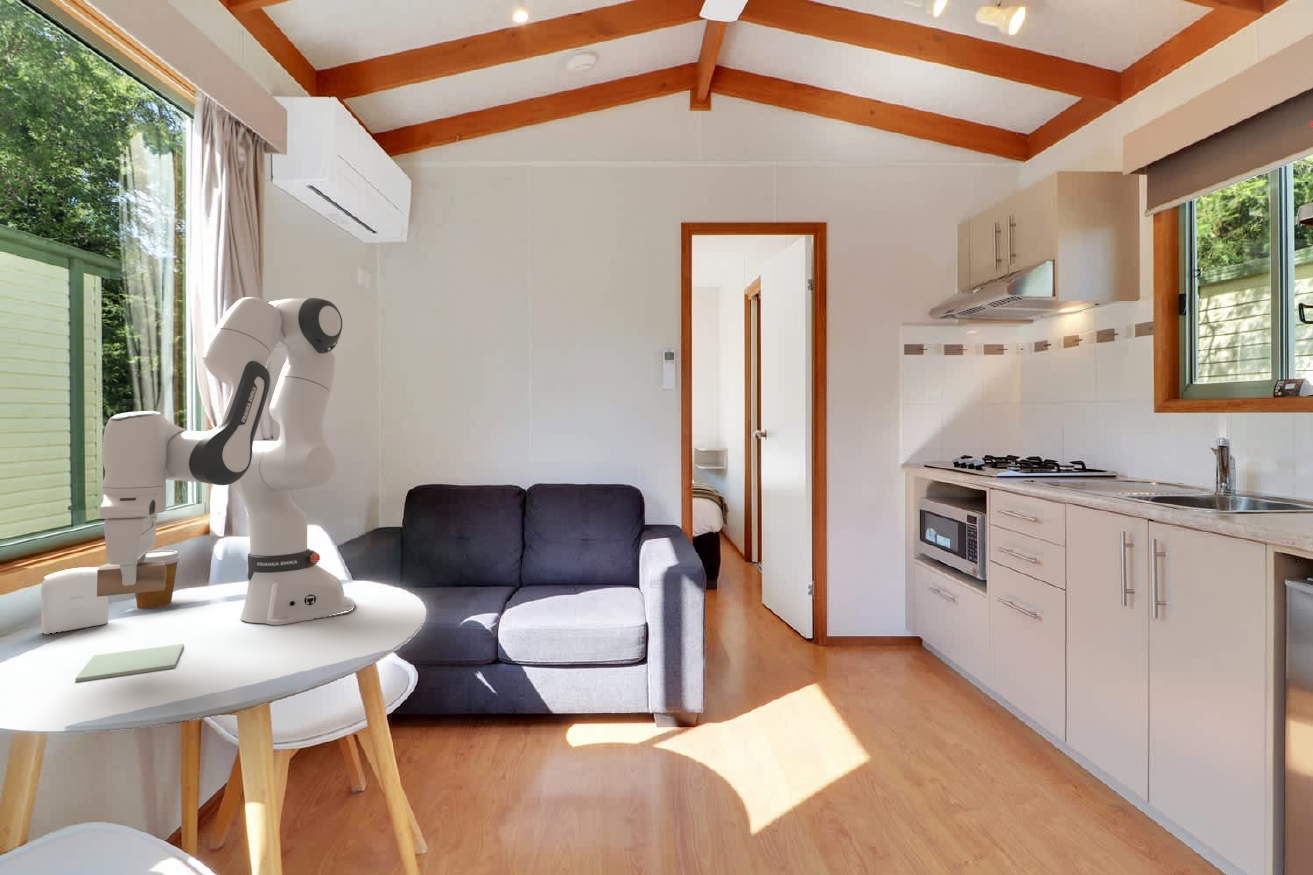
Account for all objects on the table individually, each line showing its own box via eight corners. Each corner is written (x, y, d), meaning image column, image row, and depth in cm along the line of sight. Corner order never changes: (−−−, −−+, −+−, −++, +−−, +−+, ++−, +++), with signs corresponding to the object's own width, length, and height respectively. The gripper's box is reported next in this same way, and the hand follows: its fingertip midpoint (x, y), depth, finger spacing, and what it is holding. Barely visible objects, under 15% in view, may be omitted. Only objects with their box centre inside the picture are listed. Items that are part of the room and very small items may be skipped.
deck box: (101, 591, 111) (101, 565, 111) (166, 585, 116) (166, 560, 116) (96, 596, 107) (97, 570, 107) (163, 590, 112) (164, 564, 112)
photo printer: (42, 636, 125) (42, 574, 125) (39, 631, 128) (39, 570, 128) (110, 624, 133) (110, 566, 133) (106, 620, 136) (106, 563, 136)
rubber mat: (183, 646, 120) (183, 643, 120) (174, 667, 110) (174, 664, 110) (93, 658, 114) (93, 655, 114) (75, 681, 103) (75, 678, 103)
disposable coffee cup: (155, 598, 153) (155, 549, 153) (190, 600, 152) (190, 550, 152) (116, 609, 144) (116, 556, 144) (153, 611, 143) (153, 558, 143)
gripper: (124, 497, 119) (122, 571, 119) (96, 509, 101) (95, 595, 101) (166, 496, 122) (165, 568, 122) (146, 507, 104) (145, 591, 104)
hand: (133, 580), depth 112 cm, fingers closed on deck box, 5 cm apart
